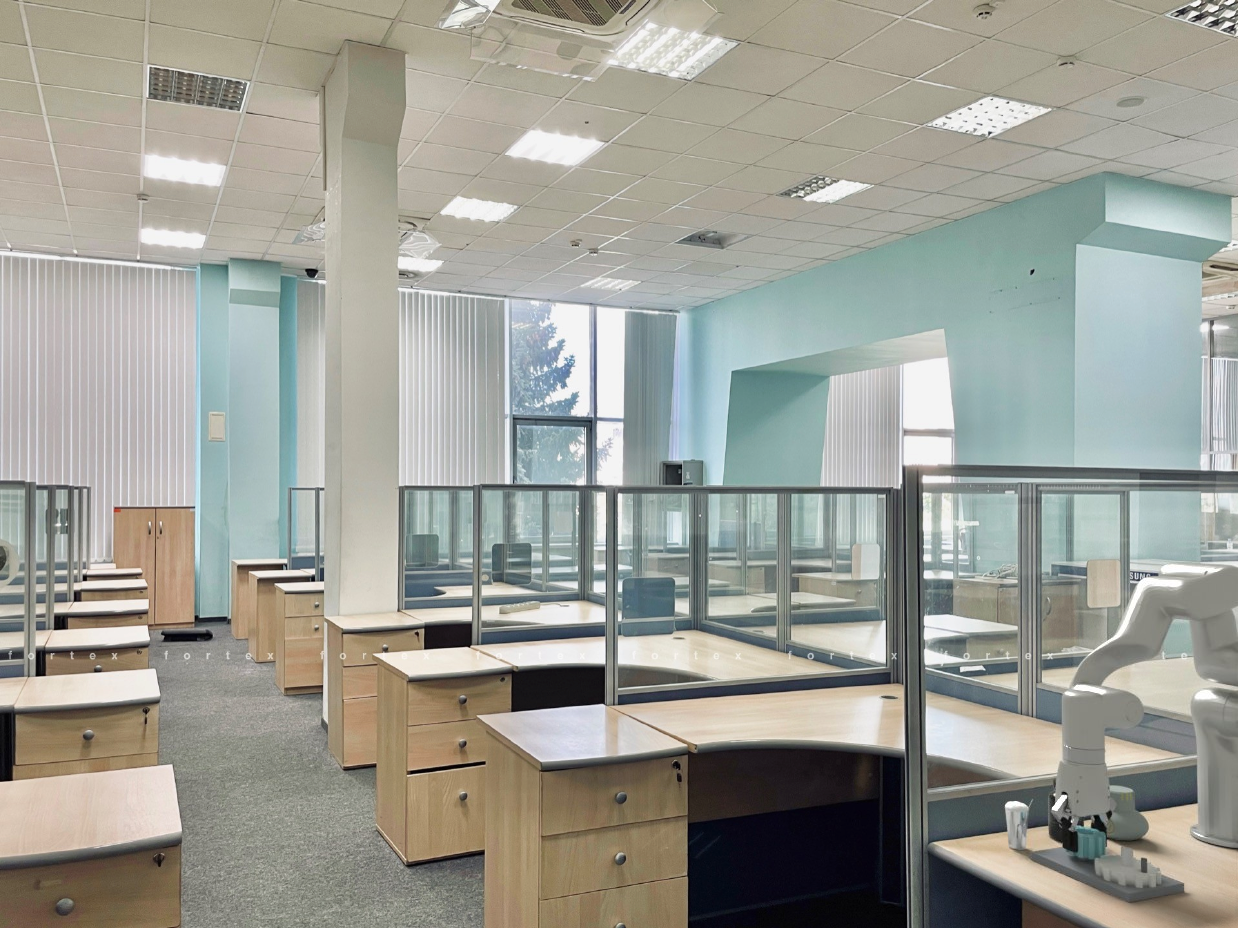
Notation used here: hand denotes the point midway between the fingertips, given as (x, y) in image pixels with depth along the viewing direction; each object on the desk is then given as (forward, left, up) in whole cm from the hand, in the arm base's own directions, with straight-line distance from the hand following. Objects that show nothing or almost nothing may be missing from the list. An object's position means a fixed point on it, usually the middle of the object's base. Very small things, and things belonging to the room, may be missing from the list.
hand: (1084, 846), depth 183 cm
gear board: (0, +5, -4) cm, 6 cm away
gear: (0, 0, -1) cm, 1 cm away
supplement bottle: (-10, -13, -4) cm, 17 cm away
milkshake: (+4, -12, -4) cm, 14 cm away
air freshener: (-22, -10, -4) cm, 25 cm away
